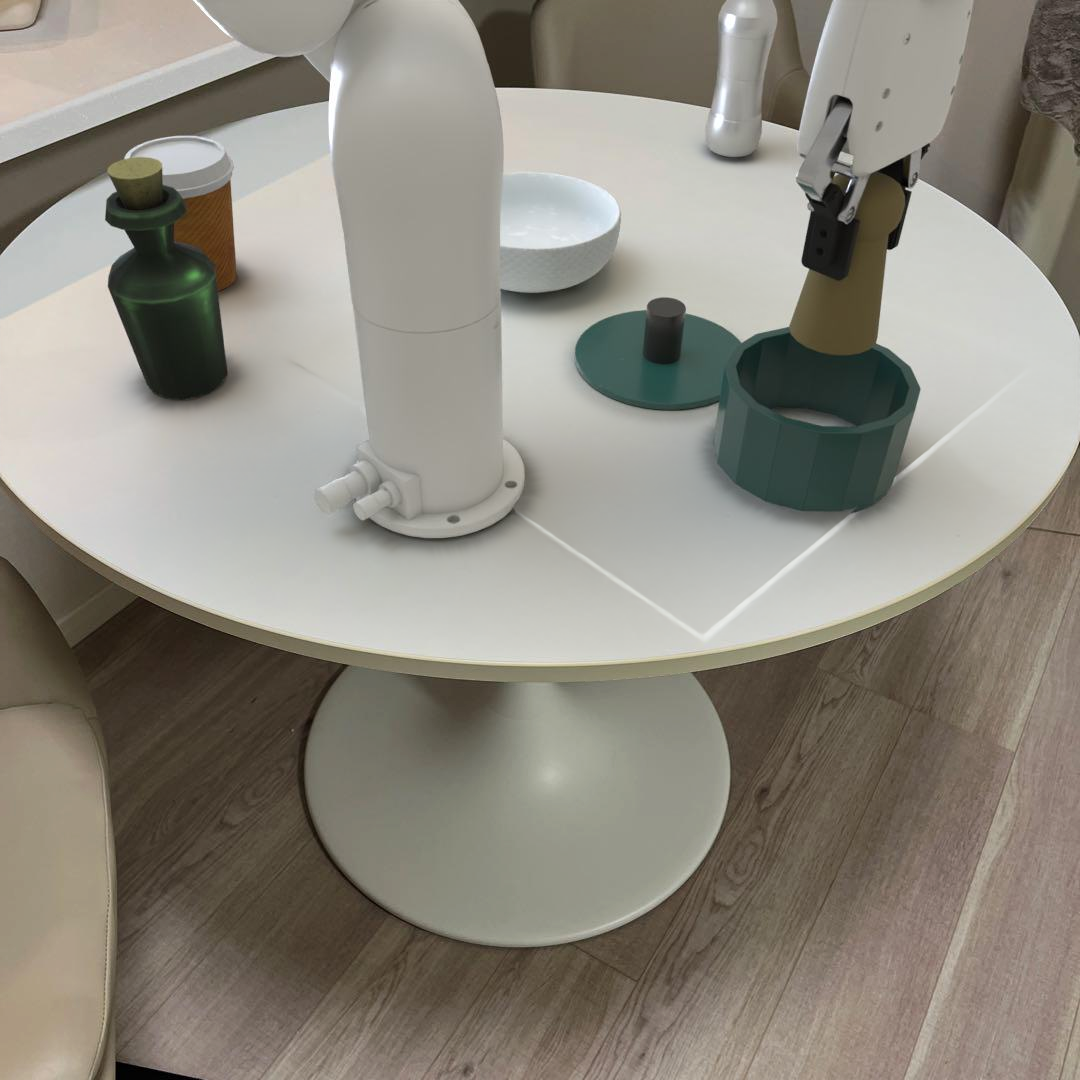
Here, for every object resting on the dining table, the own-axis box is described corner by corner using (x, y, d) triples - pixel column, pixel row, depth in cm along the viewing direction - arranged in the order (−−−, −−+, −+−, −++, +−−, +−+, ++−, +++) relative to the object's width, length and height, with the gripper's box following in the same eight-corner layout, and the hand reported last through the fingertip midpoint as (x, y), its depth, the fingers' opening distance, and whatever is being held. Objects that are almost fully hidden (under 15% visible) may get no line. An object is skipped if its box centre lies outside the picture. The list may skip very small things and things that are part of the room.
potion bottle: (249, 392, 86) (205, 179, 74) (148, 417, 84) (85, 200, 72) (224, 344, 92) (179, 138, 80) (128, 366, 89) (67, 156, 77)
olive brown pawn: (879, 360, 71) (920, 203, 63) (787, 349, 71) (818, 193, 64) (876, 314, 75) (914, 163, 68) (790, 305, 76) (819, 154, 68)
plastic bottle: (719, 167, 121) (744, -25, 108) (692, 145, 126) (713, -41, 112) (768, 159, 123) (799, -30, 109) (740, 138, 127) (765, -46, 114)
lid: (671, 439, 82) (678, 377, 79) (538, 364, 90) (539, 305, 86) (781, 367, 90) (793, 308, 86) (651, 304, 98) (656, 247, 94)
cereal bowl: (653, 283, 101) (659, 213, 96) (515, 340, 93) (515, 267, 88) (541, 220, 110) (542, 154, 106) (408, 267, 103) (403, 197, 98)
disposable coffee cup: (268, 287, 99) (246, 162, 91) (168, 313, 95) (136, 185, 87) (234, 247, 105) (210, 126, 97) (138, 270, 101) (105, 146, 93)
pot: (827, 543, 74) (850, 458, 69) (677, 457, 81) (688, 374, 76) (927, 460, 81) (955, 377, 76) (781, 387, 88) (797, 308, 83)
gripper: (936, -87, 64) (870, 200, 76) (768, -36, 55) (723, 281, 67) (1055, -64, 60) (965, 234, 72) (895, -5, 51) (823, 325, 63)
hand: (849, 254), depth 69 cm, fingers closed on olive brown pawn, 5 cm apart
